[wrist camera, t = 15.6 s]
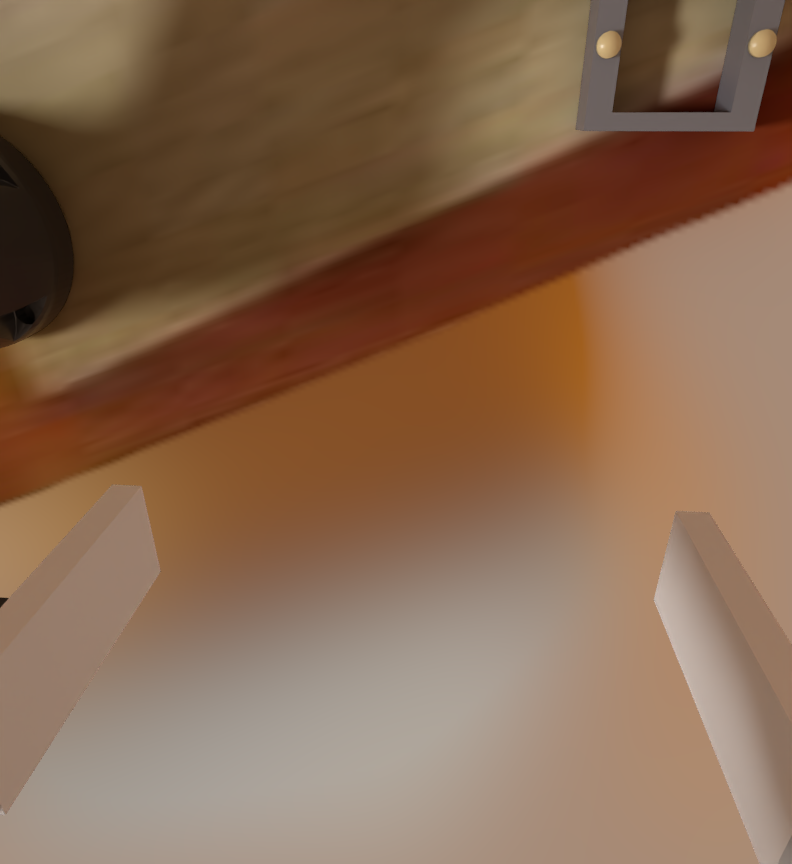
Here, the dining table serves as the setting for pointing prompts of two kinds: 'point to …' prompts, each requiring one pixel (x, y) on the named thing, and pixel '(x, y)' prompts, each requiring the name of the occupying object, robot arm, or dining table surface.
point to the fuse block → (732, 112)
